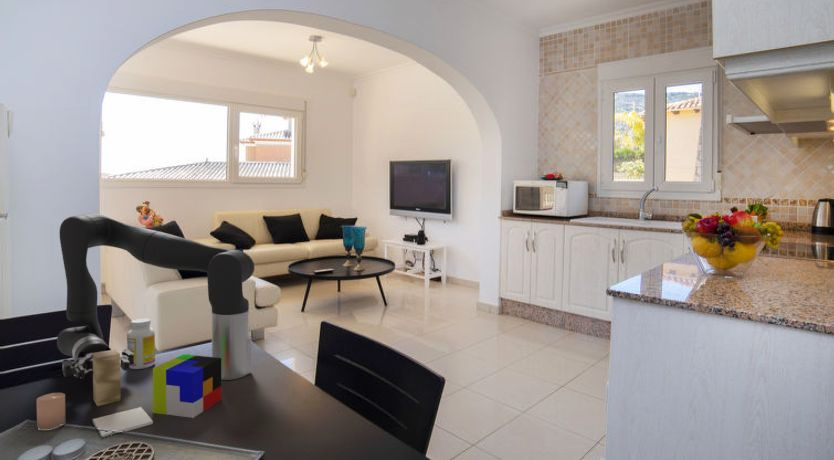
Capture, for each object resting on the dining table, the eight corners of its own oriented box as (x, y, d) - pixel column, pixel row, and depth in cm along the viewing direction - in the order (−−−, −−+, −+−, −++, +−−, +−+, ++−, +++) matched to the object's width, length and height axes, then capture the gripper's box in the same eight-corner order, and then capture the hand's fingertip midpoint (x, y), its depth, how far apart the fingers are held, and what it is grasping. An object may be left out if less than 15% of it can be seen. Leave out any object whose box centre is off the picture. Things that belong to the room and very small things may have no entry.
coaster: (141, 409, 106) (141, 406, 106) (152, 423, 99) (152, 421, 99) (92, 421, 99) (92, 419, 99) (101, 438, 93) (101, 435, 93)
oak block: (115, 394, 113) (115, 349, 113) (120, 400, 110) (119, 354, 109) (93, 399, 110) (92, 353, 109) (97, 406, 107) (96, 358, 106)
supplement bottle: (157, 361, 137) (156, 317, 136) (152, 368, 131) (152, 322, 130) (130, 362, 135) (130, 318, 134) (124, 371, 129) (124, 324, 128)
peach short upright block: (63, 418, 101) (63, 390, 100) (67, 426, 97) (66, 397, 97) (36, 425, 97) (35, 396, 97) (38, 433, 94) (37, 403, 94)
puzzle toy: (193, 418, 102) (193, 372, 102) (153, 412, 104) (152, 368, 104) (221, 399, 112) (221, 358, 112) (183, 395, 114) (183, 354, 114)
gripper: (57, 344, 118) (67, 361, 106) (123, 334, 127) (139, 348, 116) (57, 374, 118) (67, 394, 106) (123, 361, 128) (139, 378, 116)
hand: (105, 370), depth 111 cm, fingers open, 8 cm apart
